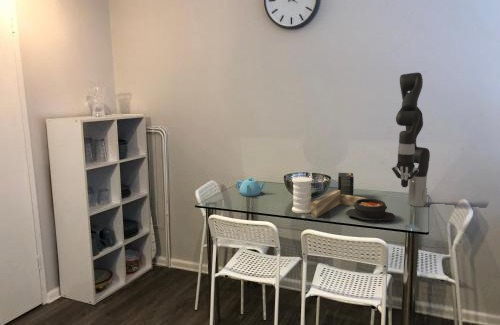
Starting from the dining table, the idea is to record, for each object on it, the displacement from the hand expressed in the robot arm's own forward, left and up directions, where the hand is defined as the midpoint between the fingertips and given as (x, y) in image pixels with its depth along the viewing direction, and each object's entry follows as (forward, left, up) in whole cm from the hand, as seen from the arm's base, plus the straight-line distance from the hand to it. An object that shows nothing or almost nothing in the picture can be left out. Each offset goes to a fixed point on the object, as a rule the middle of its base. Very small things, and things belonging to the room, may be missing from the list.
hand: (404, 186), depth 204 cm
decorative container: (+53, +8, -19) cm, 57 cm away
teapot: (+98, -4, -19) cm, 100 cm away
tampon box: (+43, -28, -19) cm, 55 cm away
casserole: (+17, 0, -19) cm, 26 cm away
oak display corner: (+34, -1, -19) cm, 39 cm away
